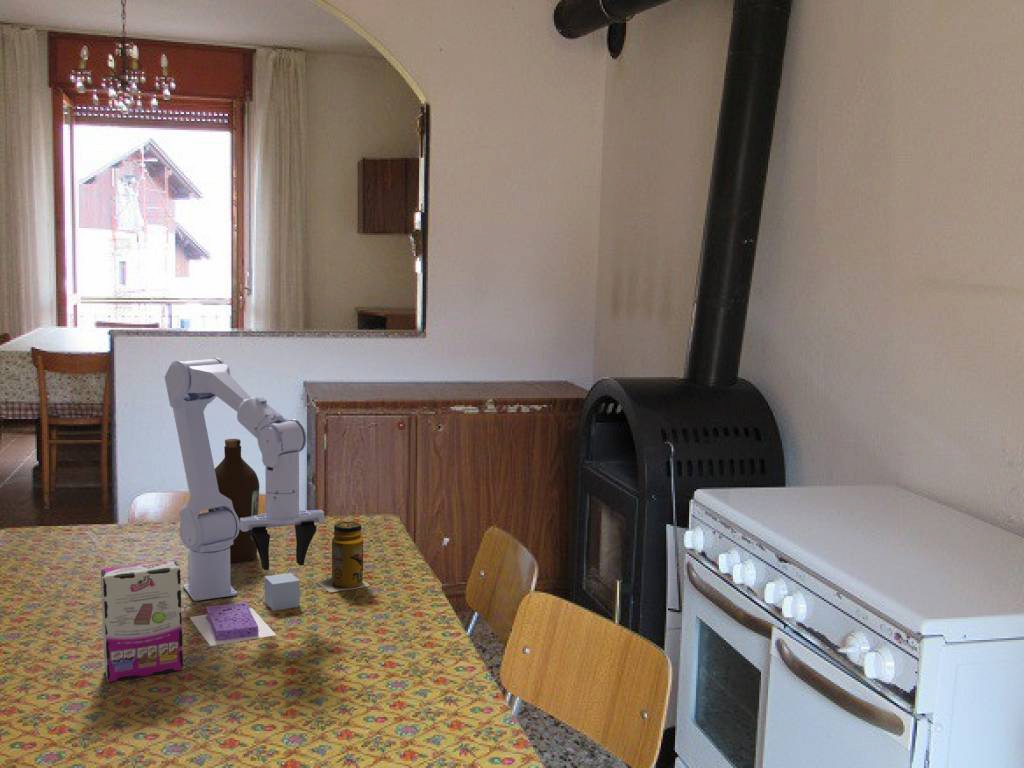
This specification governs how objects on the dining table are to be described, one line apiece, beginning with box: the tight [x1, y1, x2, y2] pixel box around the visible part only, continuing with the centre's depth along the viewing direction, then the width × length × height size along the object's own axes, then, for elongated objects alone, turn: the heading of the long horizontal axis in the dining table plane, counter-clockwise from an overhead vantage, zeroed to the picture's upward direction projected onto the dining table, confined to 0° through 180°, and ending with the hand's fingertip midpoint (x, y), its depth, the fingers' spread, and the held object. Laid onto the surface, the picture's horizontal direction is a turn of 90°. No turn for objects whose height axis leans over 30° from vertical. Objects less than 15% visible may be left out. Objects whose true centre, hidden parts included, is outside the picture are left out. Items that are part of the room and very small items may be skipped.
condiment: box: [315, 521, 371, 594], centre depth 201 cm, size 7×8×12 cm
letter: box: [189, 607, 277, 647], centre depth 179 cm, size 15×11×1 cm
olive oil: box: [207, 438, 260, 564], centre depth 217 cm, size 11×11×25 cm
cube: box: [264, 572, 301, 612], centre depth 190 cm, size 5×5×5 cm
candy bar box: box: [100, 559, 184, 683], centre depth 158 cm, size 11×5×16 cm, turn 117°
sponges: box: [206, 601, 258, 640], centre depth 178 cm, size 7×13×2 cm, turn 23°
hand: (282, 566), depth 182 cm, fingers open, 6 cm apart
